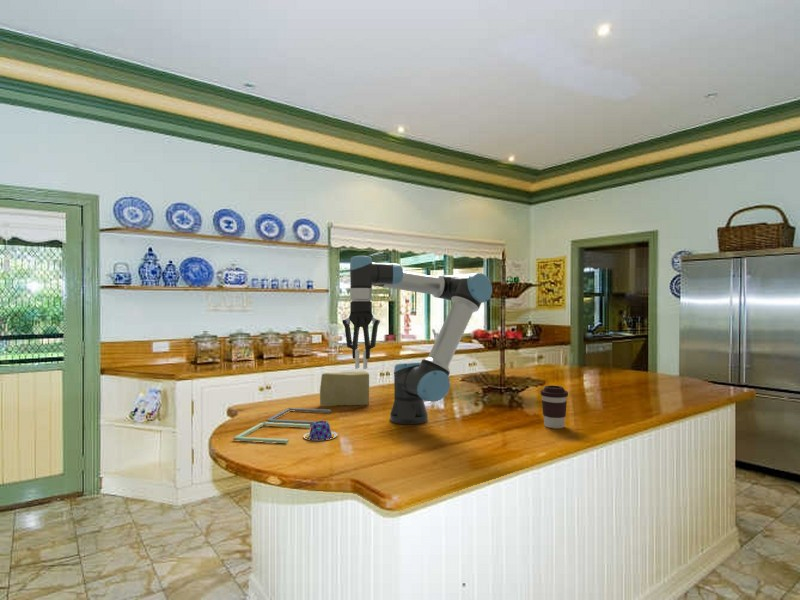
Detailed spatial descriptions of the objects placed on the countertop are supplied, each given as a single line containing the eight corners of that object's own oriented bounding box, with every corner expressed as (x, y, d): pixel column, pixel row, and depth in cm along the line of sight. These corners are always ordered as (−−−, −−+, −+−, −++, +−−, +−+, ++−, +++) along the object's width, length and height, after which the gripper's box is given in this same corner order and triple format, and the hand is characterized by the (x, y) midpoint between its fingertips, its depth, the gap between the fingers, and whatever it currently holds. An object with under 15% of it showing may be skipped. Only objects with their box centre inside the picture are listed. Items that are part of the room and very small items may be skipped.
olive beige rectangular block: (321, 408, 207) (321, 375, 207) (319, 404, 216) (318, 371, 216) (369, 405, 213) (369, 372, 213) (365, 401, 222) (365, 369, 222)
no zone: (331, 412, 199) (331, 409, 199) (313, 425, 179) (313, 422, 179) (288, 410, 203) (288, 407, 203) (266, 423, 182) (266, 420, 182)
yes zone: (310, 427, 176) (310, 424, 176) (286, 444, 155) (286, 440, 155) (262, 425, 179) (262, 421, 179) (233, 441, 159) (233, 437, 159)
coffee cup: (569, 424, 179) (569, 385, 179) (566, 431, 170) (566, 390, 170) (542, 421, 183) (542, 383, 183) (538, 428, 174) (538, 388, 174)
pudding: (299, 442, 158) (299, 427, 158) (307, 432, 170) (307, 418, 170) (335, 442, 158) (335, 427, 158) (339, 432, 170) (339, 418, 170)
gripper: (384, 300, 164) (385, 367, 164) (343, 300, 166) (343, 366, 166) (379, 300, 156) (380, 370, 156) (336, 300, 159) (336, 369, 159)
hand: (361, 368), depth 161 cm, fingers open, 2 cm apart
